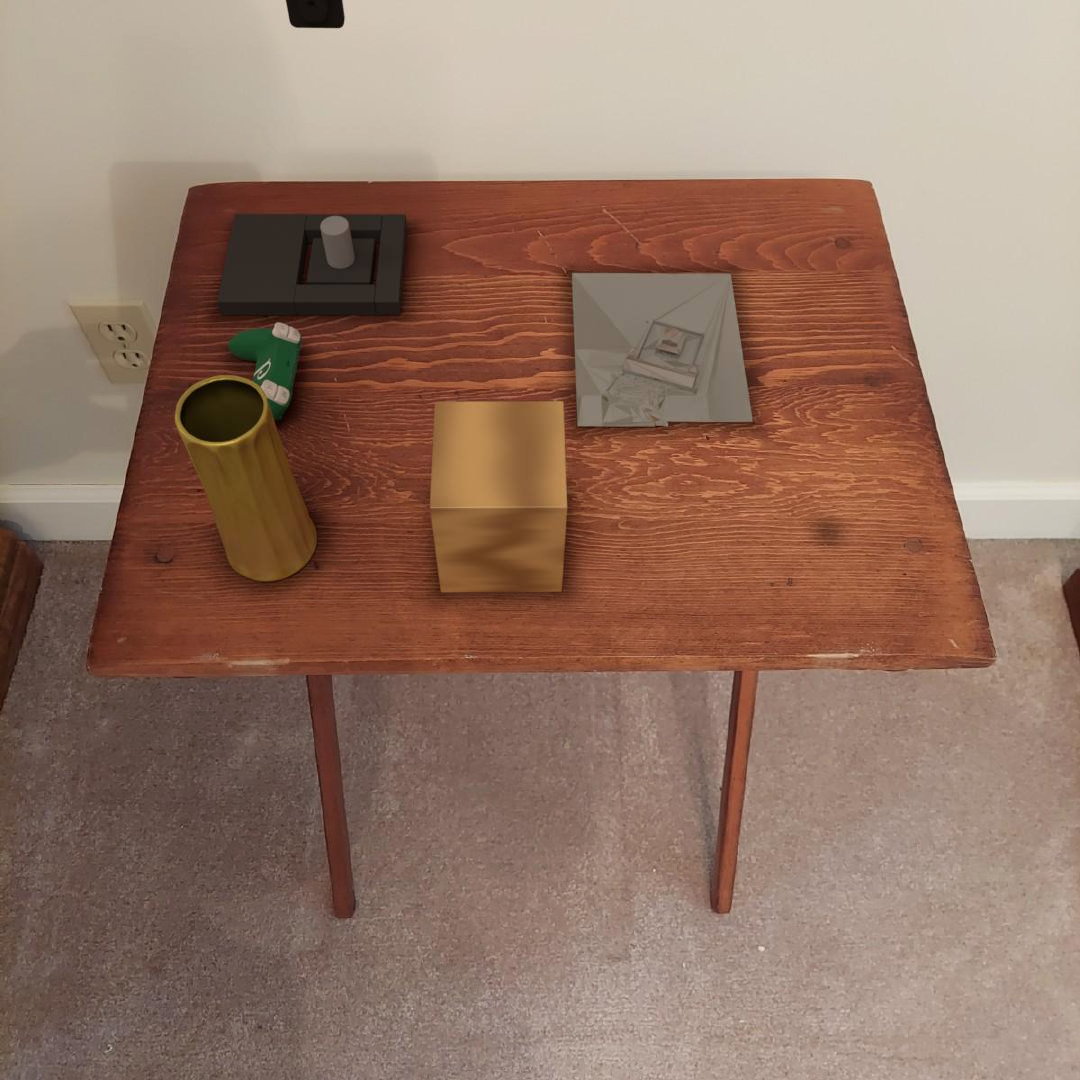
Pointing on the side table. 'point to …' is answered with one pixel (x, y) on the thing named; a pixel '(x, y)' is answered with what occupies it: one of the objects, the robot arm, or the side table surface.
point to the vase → (246, 477)
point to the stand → (499, 495)
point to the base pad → (278, 262)
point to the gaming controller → (271, 361)
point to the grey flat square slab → (657, 350)
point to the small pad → (344, 275)
